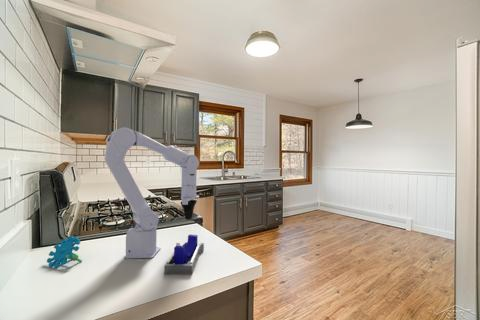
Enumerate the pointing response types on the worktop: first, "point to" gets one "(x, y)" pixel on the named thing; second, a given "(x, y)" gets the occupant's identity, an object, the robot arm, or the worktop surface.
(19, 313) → the worktop surface
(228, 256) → the worktop surface
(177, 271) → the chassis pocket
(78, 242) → the blue knobby toy
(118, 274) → the worktop surface
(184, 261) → the cable clip
